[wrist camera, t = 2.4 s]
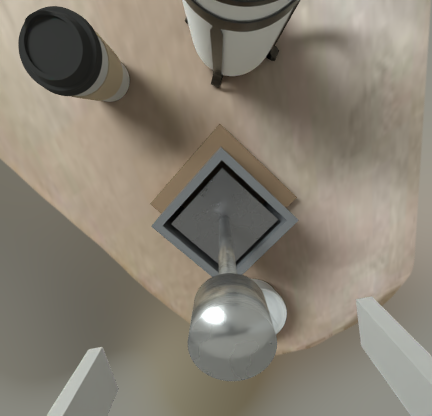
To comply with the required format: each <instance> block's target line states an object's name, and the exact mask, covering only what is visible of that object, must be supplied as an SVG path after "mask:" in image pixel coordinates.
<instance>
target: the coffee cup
mask: <svg viewBox="0 0 432 416" xmlns="http://www.w3.org/2000/svg"><path fill="white" fill-rule="evenodd" d="M19 54H20V58H21V61H22V63H23V66H24V68H25V69H26V71H27V72H28V74H29V75H30V76H31V77H32V78H33V79H34V80H35V81H36V82H37V83H38V84H40V85H41V86H43V87H44V88H45V89H47V90H49V91H50V92H53V93H55V94H58V95H62V96H71V97H77V98H83V99H90V100H97V101H107V102H113V101H117V100H119V99H121V98H122V97H123V96H124V95H125V94H126V92H127V90H128V88H129V74H128V71H127V69H126V67H125V66H124V65H123V63H122V62H121V61H120V60H119V58H118V57H117V55H116V54H115V53H114V52H113V51H112V49H111V48H110V47H109V46H108V45H107V44H106V43H105V41H104V40H103V39H102V38H101V37H100V36H99V35H98V33H97V32H96V31H94V29H93V28H92V26H91V25H90V24H89V23H88V22H87V21H86V20H85V19H84V18H83V17H82V16H80V15H79V14H77V13H75V12H73V11H71V10H69V9H66V8H63V7H57V6H51V7H45V8H42V9H39V10H37V11H36V12H34V13H32V14H30V15H29V16H28V17H27V18H26V19H25V22H24V25H23V27H22V29H21V32H20V36H19Z"/></svg>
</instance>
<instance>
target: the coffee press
mask: <svg viewBox="0 0 432 416" xmlns="http://www.w3.org/2000/svg"><path fill="white" fill-rule="evenodd" d="M182 1H183V5H184V9H185V13H186V19H185V22H186V23H187V24H189V28H190V32H191V36H192V39H193V43H194V46H195V49H196V51H197V53H198V55H199V57H200V58H201V60H202V61H203V62H204V63H205V64H206V65H207V66H208V67H209V68H210V69H212V70H213V77H212V82H211V84H212V85H214V86H216V87H219V86H220V83H221V80H222V77H223V75H226V76H239V75H243V74H246V73H248V72H250V71H252V70H253V69H255V68H256V67H257V66H258V65H260V64H261V62H262V61H263V60H264V59H265V57H266V58H267V59H269V60H272V61H275V60H276V57H277V55H278V52H279V50H278V49H277V47H276V46H275V44H276V42H277V41H278V39H279V37H280V35H281V34H282V32H283V30H284V28H285V26H286V25H287V23H288V21H289V19H290V18H291V16H292V14H293V12H294V11H295V9H296V7H297V5H298V4H299V2H300V0H182ZM272 46H273V47H272ZM271 48H272V49H271Z"/></svg>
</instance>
